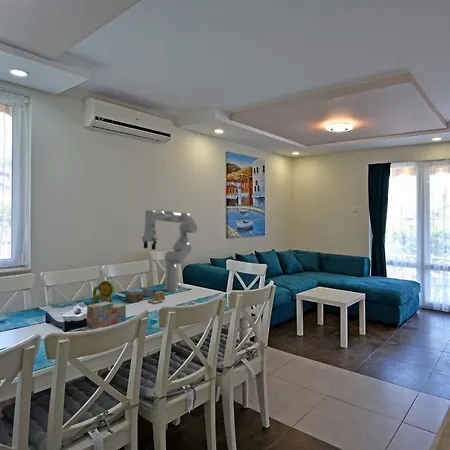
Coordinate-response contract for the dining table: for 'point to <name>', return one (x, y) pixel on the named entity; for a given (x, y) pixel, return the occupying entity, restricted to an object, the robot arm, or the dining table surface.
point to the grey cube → (147, 291)
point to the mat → (155, 301)
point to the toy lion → (103, 292)
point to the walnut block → (134, 296)
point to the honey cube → (159, 295)
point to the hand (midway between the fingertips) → (149, 248)
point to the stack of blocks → (105, 314)
